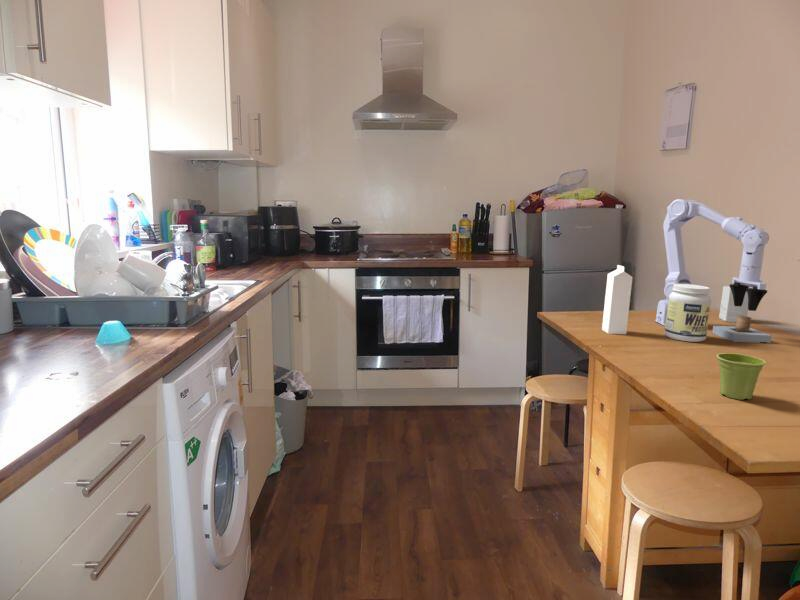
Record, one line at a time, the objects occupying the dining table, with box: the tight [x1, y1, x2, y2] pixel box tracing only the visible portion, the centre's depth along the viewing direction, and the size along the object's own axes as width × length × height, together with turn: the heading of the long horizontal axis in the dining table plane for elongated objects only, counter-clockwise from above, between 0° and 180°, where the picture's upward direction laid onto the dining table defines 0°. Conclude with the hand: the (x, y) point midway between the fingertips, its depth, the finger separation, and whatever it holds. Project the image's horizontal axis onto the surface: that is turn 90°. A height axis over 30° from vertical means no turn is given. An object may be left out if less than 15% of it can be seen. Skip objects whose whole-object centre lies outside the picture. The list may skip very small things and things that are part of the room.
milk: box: [601, 264, 633, 335], centre depth 185 cm, size 6×6×22 cm
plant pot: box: [716, 352, 767, 401], centre depth 126 cm, size 9×9×9 cm
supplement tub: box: [663, 284, 712, 343], centre depth 181 cm, size 12×12×17 cm
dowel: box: [734, 316, 752, 333], centre depth 185 cm, size 4×4×7 cm
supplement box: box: [718, 285, 749, 323], centre depth 214 cm, size 7×7×13 cm
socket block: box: [712, 325, 773, 344], centre depth 185 cm, size 12×12×2 cm
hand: (744, 308), depth 184 cm, fingers open, 7 cm apart
